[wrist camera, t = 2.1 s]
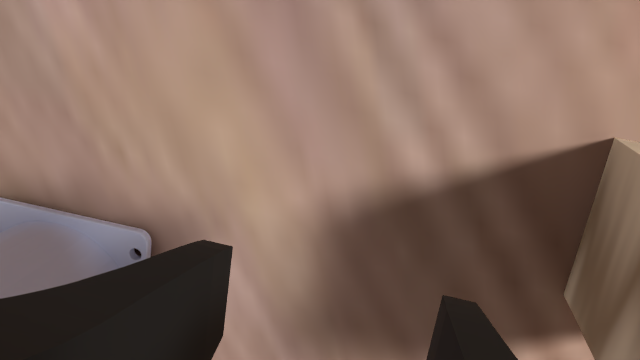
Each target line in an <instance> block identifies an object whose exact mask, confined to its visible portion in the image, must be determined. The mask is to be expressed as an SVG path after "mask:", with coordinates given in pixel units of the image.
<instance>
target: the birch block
mask: <svg viewBox="0 0 640 360" xmlns="http://www.w3.org/2000/svg"><path fill="white" fill-rule="evenodd" d="M563 295H564V297H565V299H566V301H567V303H568V305H569V307H570V309H571V311H572V313H573V315H574V317H575V319H576V322H577V324H578V326H579V328H580V330H581V332H582V334H583V336H584V338H585V340H586V342H587V344H588V346H589V348H590V350H591V352H592V355H593V357H594V359H595V360H640V142H635V141H630V140H624V139H619V138H614V141H613V144H612V147H611V150H610V153H609V156H608V159H607V162H606V165H605V168H604V171H603V174H602V178H601V181H600V184H599V187H598V190H597V193H596V196H595V199H594V202H593V205H592V208H591V211H590V214H589V218H588V221H587V224H586V227H585V230H584V233H583V236H582V239H581V242H580V245H579V248H578V251H577V254H576V258H575V261H574V264H573V267H572V270H571V273H570V276H569V279H568V282H567V285H566V288H565V291H564V294H563Z"/></svg>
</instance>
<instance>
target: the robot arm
mask: <svg viewBox="0 0 640 360" xmlns="http://www.w3.org/2000/svg"><path fill="white" fill-rule="evenodd" d="M151 243H152V242H151V237H150V235H149V234H148V233H147V232H146V231H145V230H143V229H140V228H135V227H131V226H126V225H122V224H117V223H113V222H108V221H104V220H100V219H95V218H91V217H86V216H82V215H77V214H73V213H68V212H64V211H59V210H55V209H50V208H46V207H41V206H37V205H33V204H28V203H24V202H19V201H15V200H10V199H6V198H1V197H0V360H211V359H212V357H213V355H214V353H215V351H216V349H217V347H218V345H219V343H220V341H221V338H222V336H223V331H224V322H225V312H226V303H227V294H228V285H229V276H230V267H231V258H232V249H233V247H232V246H228V245H223V244H219V243H215V242H211V241H206V240H201V241H197V242H193V243H190V244H187V245H184V246H181V247H178V248H175V249H172V250H169V251H167V252H164V253H161V254H158V255H156V256H153V257H151ZM134 248H136V249H138V250H139V251H140V252H141V256H138V255H137V254H136V253H135V251H134ZM427 360H518V359H517V358H516V357H515V355H514V354H513V353H512V351H511V350H510V349H509V347H508V346H507V345H506V343H505V342H504V341H503V339H502V338H501V337H500V335H499V334H498V332H497V331H496V330H495V328H494V327H493V326H492V324H491V323H490V321H489V320H488V319H487V317H486V316H485V314H484V313H483V312H482V310H481V309H480V307H479V306H478V305H477V304H476V303H475V302H470V301H466V300H462V299H457V298H453V297H449V296H444V295H443V296H442V300H441V304H440V308H439V312H438V316H437V320H436V324H435V328H434V332H433V336H432V340H431V344H430V348H429V352H428V356H427Z"/></svg>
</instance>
